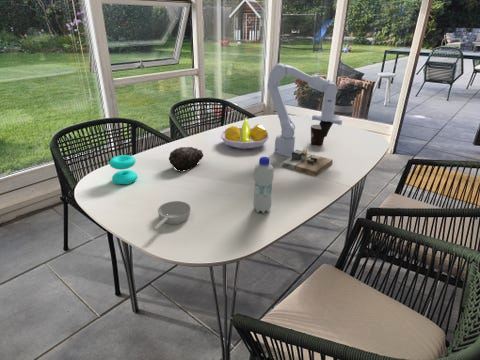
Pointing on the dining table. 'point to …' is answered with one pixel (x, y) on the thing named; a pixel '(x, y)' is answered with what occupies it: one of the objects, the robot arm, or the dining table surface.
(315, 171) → the wooden latch board
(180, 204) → the small pan
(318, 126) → the coffee mug
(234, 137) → the fruit bowl
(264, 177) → the bottle
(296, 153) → the lock hardware
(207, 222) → the dining table surface
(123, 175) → the donuts
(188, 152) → the pine cone
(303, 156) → the bolt
